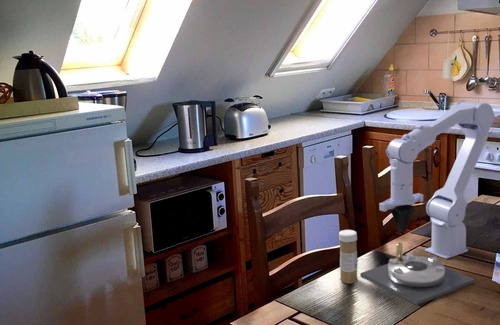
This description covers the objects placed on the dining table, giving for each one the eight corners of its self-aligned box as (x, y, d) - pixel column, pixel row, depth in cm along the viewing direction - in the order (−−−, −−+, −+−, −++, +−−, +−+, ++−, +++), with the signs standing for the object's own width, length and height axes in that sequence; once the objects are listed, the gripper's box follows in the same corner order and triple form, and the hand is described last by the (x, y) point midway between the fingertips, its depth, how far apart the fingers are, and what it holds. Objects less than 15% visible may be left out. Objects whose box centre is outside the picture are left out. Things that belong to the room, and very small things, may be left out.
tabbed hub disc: (376, 272, 143) (376, 248, 142) (415, 260, 150) (416, 237, 148) (415, 292, 131) (416, 266, 130) (456, 277, 138) (457, 252, 136)
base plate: (414, 258, 154) (414, 254, 154) (474, 282, 137) (474, 278, 137) (360, 276, 144) (360, 272, 144) (417, 305, 127) (417, 301, 127)
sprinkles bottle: (346, 275, 146) (345, 227, 143) (361, 279, 143) (360, 231, 140) (336, 281, 142) (335, 233, 140) (351, 285, 139) (350, 236, 136)
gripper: (392, 191, 140) (392, 240, 143) (432, 181, 147) (431, 228, 150) (373, 185, 146) (374, 233, 149) (412, 176, 153) (412, 222, 156)
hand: (401, 230), depth 150 cm, fingers closed
